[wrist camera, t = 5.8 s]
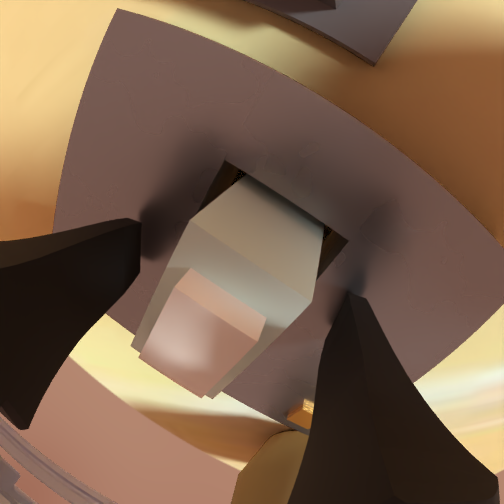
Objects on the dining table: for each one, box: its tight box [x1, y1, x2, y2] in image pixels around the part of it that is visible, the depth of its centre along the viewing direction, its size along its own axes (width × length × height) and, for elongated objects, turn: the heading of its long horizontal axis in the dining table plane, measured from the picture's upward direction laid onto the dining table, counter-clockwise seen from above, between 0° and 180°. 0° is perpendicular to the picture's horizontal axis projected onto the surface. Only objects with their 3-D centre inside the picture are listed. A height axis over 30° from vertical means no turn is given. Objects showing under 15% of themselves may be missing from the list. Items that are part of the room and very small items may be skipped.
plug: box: [131, 174, 325, 399], centre depth 10 cm, size 3×5×7 cm, turn 149°
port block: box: [53, 8, 504, 436], centre depth 11 cm, size 16×12×3 cm
